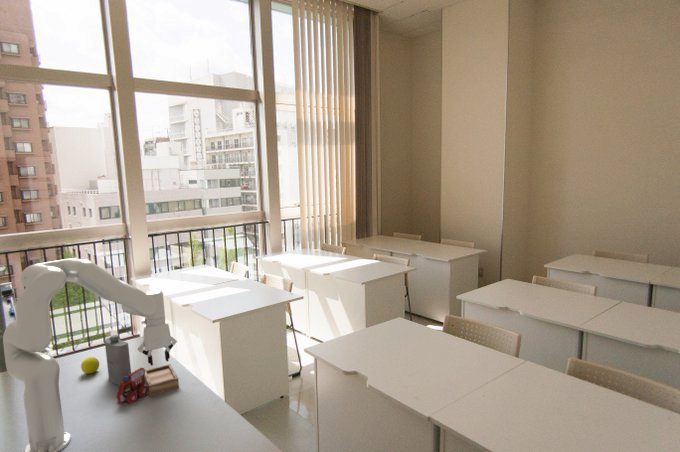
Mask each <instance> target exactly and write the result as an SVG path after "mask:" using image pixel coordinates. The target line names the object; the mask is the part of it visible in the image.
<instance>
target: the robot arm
mask: <svg viewBox="0 0 680 452" xmlns="http://www.w3.org/2000/svg"><path fill="white" fill-rule="evenodd" d="M20 282H21V284H22V285H23V286H24V289H23V290H22V292H21V293H20V295H19V296H18V299H17V301H16V307H15V313H16V314H15V315H16V316H15V317H16V319H15V320H12V321H11V322H10V323H9V324H8V325H7V326H6V328H5V329H4V332H3V335H2V344H3V353H4V354H3V355H4V360H5V362H4V363H5V367H6V370H7V373H8V374H9V376H10V377H12V378H14V379H16V380H18V381H20V382H21V383H23V384H24V390H23V406H24V410H25V411H24V412H25V419H26V426H27V434H28V440H29V441H28V442H29V443H28V444H27V445H26V446H25V448H24V452H60V451H62V450H63V449H64V448H66V447H67V446H68V445H69V443H71V440H72V437H71V434H70V433H69V432H67V431H65V426H64V418H63V417H64V416H63V411H62V410H63V409H62V400H61V394H60V364H59V362H58V360H57V359H55V358H54V357H53V356H51V355H50V354H46V353H44V352H42V351H43V350H46V349H47V348H48V347H49V346H50V344H51V341H52V338H53V337H52V326H51V317H50V303H51V301H52V299H53V298H54V296H55V295H56V294H57V293H58V292H59V291H60V290H62V289H63V287H64V286H65V285H66V283H68V282H71V283H75V284H77V285H79V286H80V287H83V288H84V289H86V290H88V291H89V292H92V293H93V294H94V295H96V296H98V297H99V298H102V299H104V300H106V301H109V302H111V303H112V302H113V303H116V304H119V305H120V307H121V310H122V311H123V312H124V313H126V314H129V315H132V316H138V317H142V318H144V319H143V320H140V323H141V325H142V324H143V341H142V342H141V344H140V345H139V346H138V348H137V351H138V352H140V353H142V354H144V356H147V362H148V364H150V366H154V363H153V356H152V351H154V350H155V351H156V350H159V349H163V348H164V349H165V350H164V357H165V361H166V362H169V359H170V357H171V356H170V352H171V350H172V349H173V347H174V346H175V345H176V344H177V343H178V341H177V339H175V338H174V337H173V336H172V335H171V331H170V325H169V322H168V321H167V320H166V314H165V313H166V312H165V302H164V301H165V300H164V293H163V291H162V290H159V289H158V290H157V289H153V290H149V291H146V292H144V291H143V290H141V289H139V288H138V287H135V286H133V285H131V284H129V283H127V282H125V281H123V280H121V279H119V278H118V277H116V276H114V275H113V274H111V273H110V272H108V271H107V270H105V269H104V268H102V267H101V266H99V265H98V264H97V263H95V262H92V261H91V260H89V259H85V258H83V259H82V258H74V257H71V258H64V259H58V260H52V261H46V262H40V263H34V264H31V265H29V266H27V267H26V268H24V269H23V271H21V273H20Z"/></svg>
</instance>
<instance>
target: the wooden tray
mask: <svg viewBox="0 0 680 452" xmlns="http://www.w3.org/2000/svg"><path fill="white" fill-rule="evenodd" d="M176 373H177V372H176V371H175V370H174V367H173V366H172V364H171V363H169V364H165V365H161V366H158V367H152V368H148V369H145V374H144V378H145V386H147V388H148V392H147V393H148V395H149V397H152V396H156V395H160V394H162V393H165V392H170V391H172V390H176V389H178V388H179V386H180V382H179V377H178V375H177V374H176Z"/></svg>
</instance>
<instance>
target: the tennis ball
mask: <svg viewBox="0 0 680 452" xmlns="http://www.w3.org/2000/svg"><path fill="white" fill-rule="evenodd" d="M99 367H100V362H99V360H98V358H96V357H94V356H90V357H87V358H84V359H83V361H82V362H81V366H80V368H81V370H82V372H83V373H84V374H88V375H89V374H93V373H95V372H97V371H98V369H100V368H99Z"/></svg>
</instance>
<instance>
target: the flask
mask: <svg viewBox="0 0 680 452" xmlns="http://www.w3.org/2000/svg"><path fill="white" fill-rule="evenodd" d="M104 347H105V357H106V364H107V365H106V366H107V374H108V380H109V381H110V382H111V383H113V384H114V385H116V386H120V383H121V382H123V377H124V376H128V375H129V374H131V373H132V368H131V358H130V348H129V343H128V341H124V340H121V339H120V335H118V334H113V335H111V336H109V337H108V338H106V339H104ZM128 384H129V383H128Z"/></svg>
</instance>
